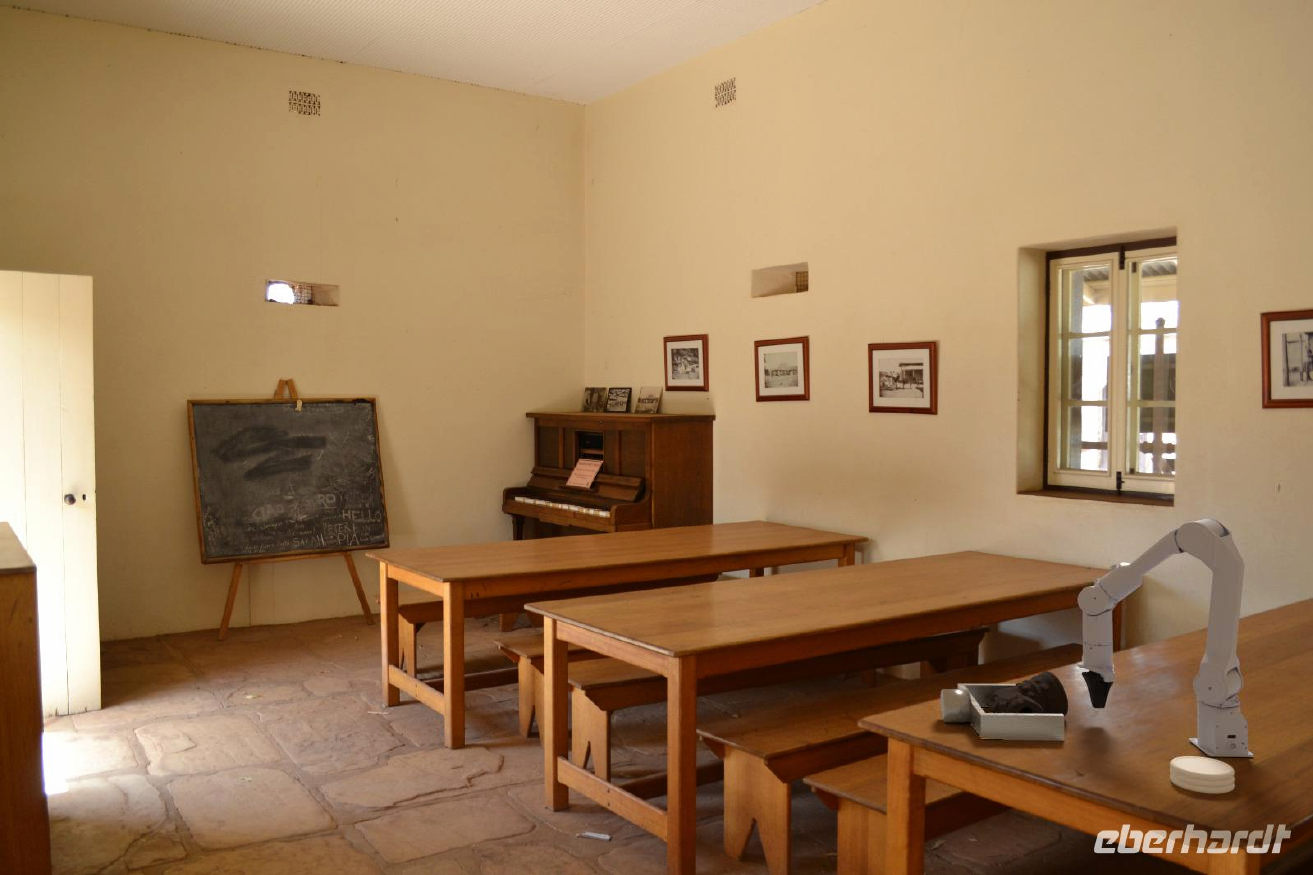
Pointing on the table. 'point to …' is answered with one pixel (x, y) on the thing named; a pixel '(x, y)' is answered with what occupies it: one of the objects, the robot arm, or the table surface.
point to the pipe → (1032, 697)
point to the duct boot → (997, 715)
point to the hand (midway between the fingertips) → (1098, 707)
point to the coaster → (1202, 774)
